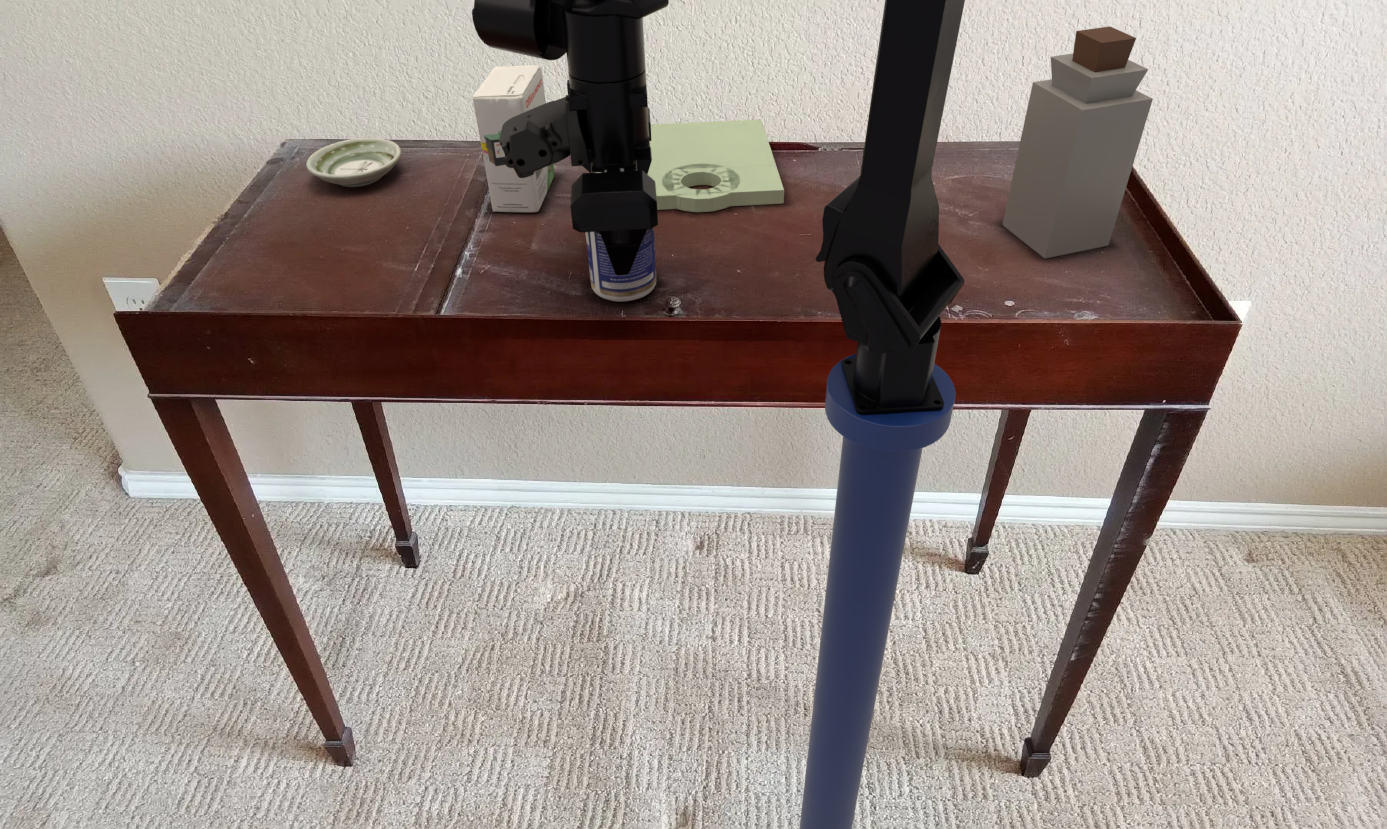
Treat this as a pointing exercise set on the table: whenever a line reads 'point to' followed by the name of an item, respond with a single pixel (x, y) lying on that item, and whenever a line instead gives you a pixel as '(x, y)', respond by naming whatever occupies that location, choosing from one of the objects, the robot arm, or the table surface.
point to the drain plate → (713, 165)
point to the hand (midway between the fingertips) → (621, 255)
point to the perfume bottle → (1078, 146)
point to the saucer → (354, 161)
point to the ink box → (493, 106)
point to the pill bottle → (621, 286)
